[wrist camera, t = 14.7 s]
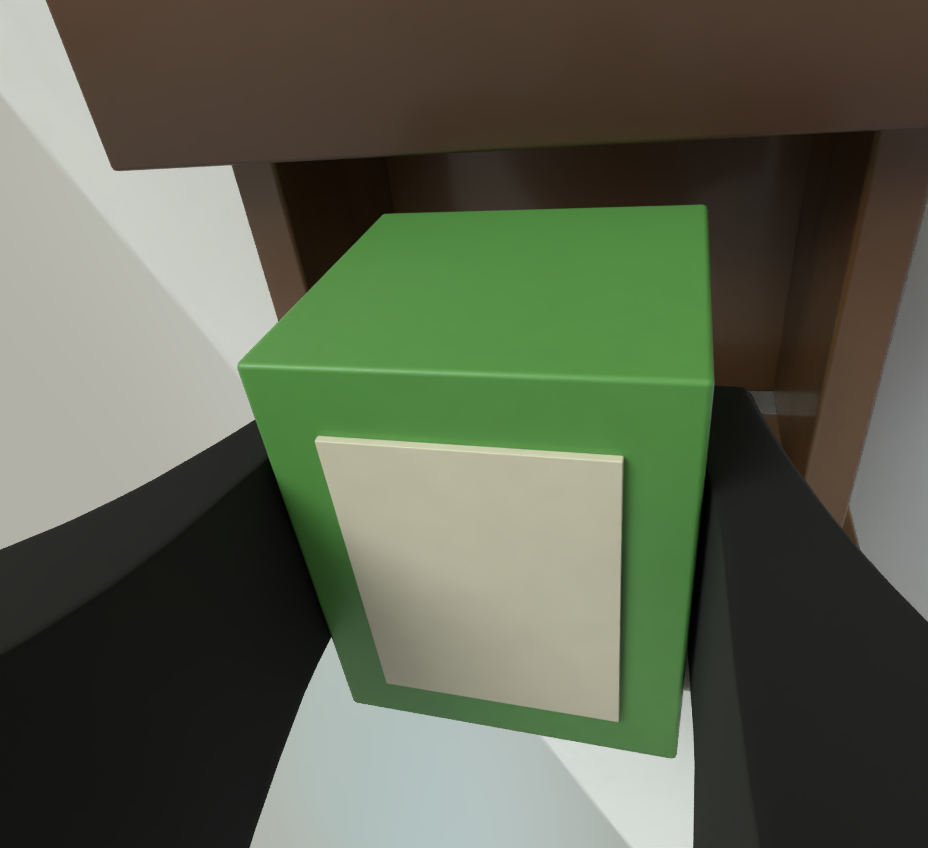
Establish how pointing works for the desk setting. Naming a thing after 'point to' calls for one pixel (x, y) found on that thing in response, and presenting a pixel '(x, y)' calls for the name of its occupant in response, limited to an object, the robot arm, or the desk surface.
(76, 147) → the desk surface
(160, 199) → the desk surface
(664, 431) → the snack box
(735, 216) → the drawer
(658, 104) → the cabinet
